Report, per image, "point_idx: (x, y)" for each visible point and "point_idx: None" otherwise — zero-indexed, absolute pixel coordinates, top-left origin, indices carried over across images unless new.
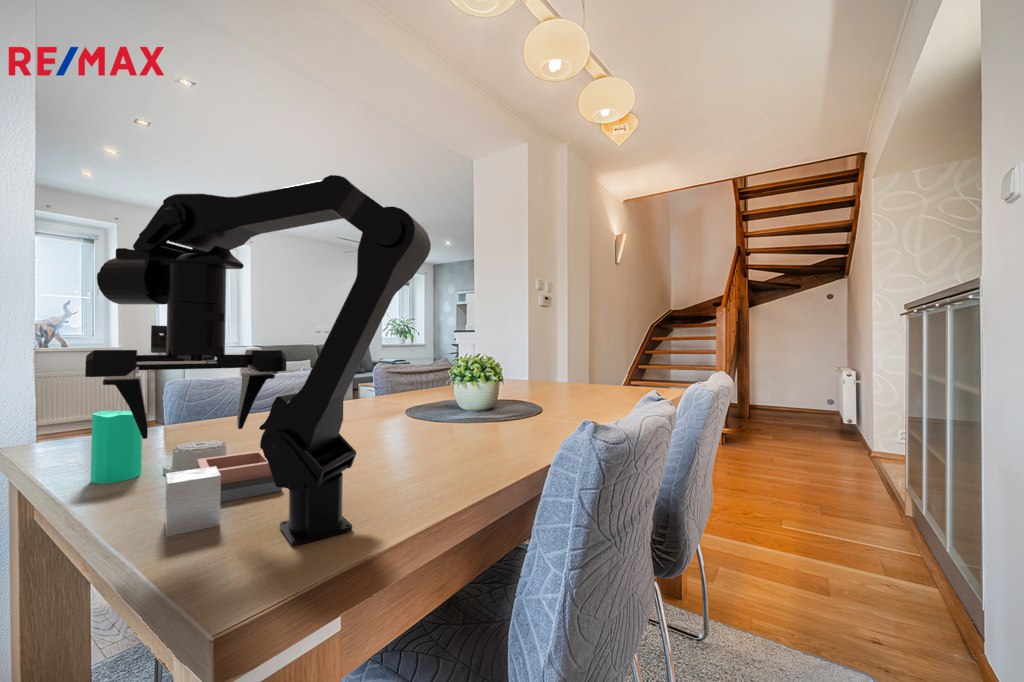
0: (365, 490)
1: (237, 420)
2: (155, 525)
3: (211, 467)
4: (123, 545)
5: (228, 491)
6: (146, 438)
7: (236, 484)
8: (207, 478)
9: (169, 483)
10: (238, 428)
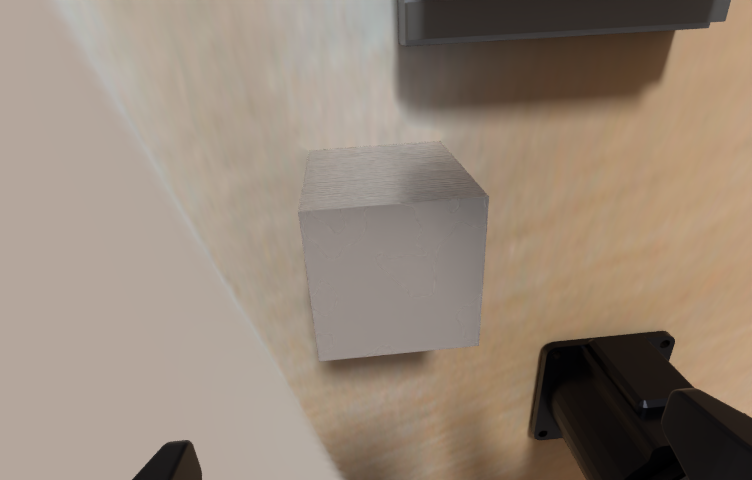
0: None
1: (712, 423)
2: (286, 163)
3: (469, 210)
4: (237, 268)
5: (507, 39)
6: (199, 474)
7: (546, 30)
8: (436, 348)
9: (325, 359)
10: (662, 424)
